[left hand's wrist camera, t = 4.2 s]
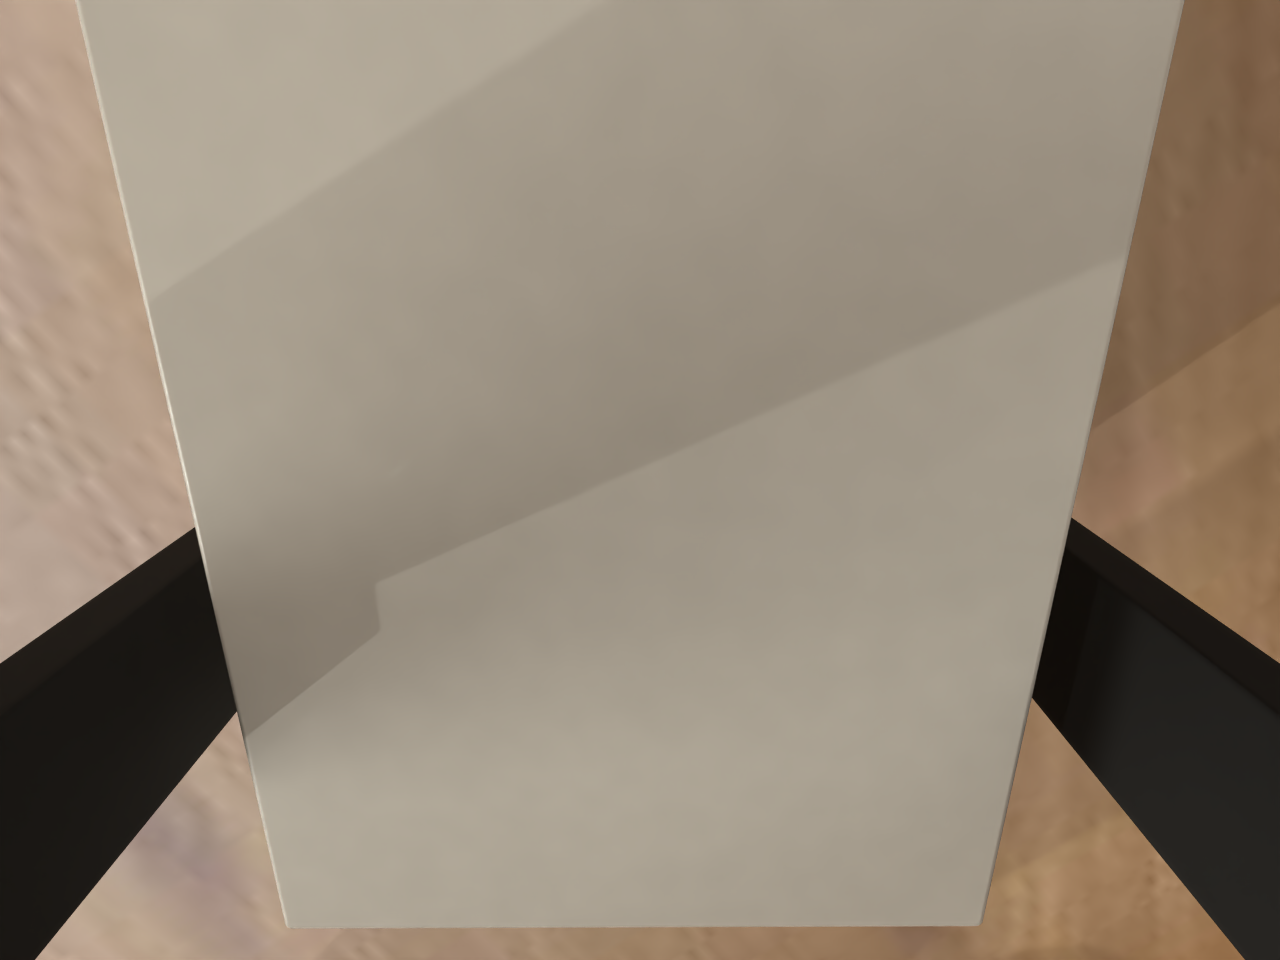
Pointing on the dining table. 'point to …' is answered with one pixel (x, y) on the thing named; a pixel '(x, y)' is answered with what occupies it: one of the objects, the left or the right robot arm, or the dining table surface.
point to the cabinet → (631, 428)
